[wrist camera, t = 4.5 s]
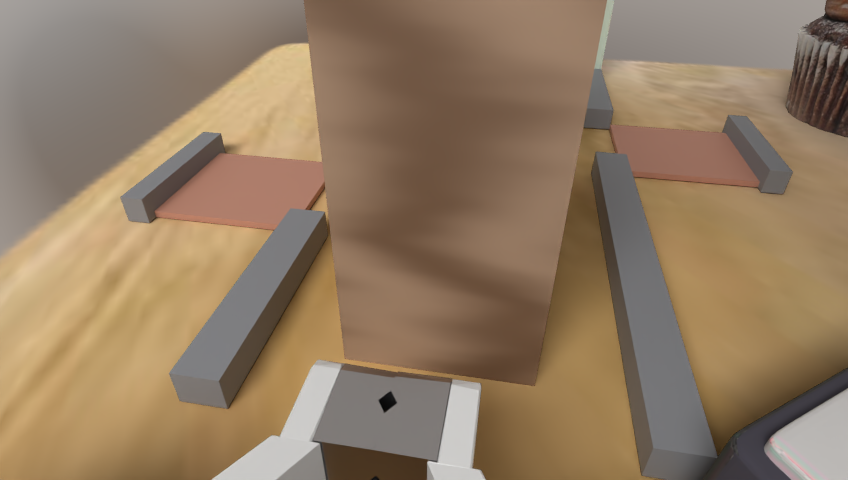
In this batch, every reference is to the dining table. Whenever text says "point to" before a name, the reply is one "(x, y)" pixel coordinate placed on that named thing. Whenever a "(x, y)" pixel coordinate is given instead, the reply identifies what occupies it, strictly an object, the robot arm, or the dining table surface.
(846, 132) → the cupcake
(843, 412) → the calculator
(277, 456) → the robot arm
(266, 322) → the green panel rail frame
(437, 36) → the walnut block
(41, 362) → the dining table surface
